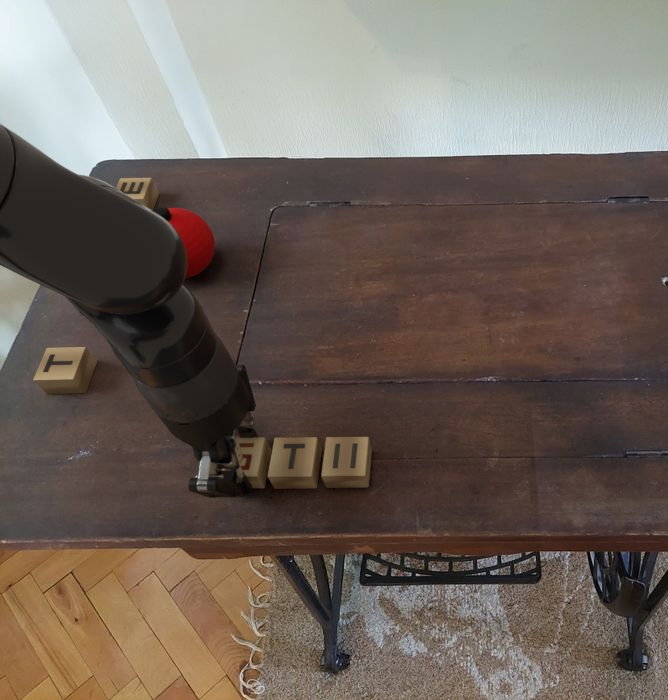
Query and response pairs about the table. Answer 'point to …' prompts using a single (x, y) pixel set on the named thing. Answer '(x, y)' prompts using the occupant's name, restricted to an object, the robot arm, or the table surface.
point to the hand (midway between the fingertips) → (246, 468)
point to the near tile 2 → (295, 463)
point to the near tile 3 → (346, 462)
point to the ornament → (192, 237)
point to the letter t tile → (65, 370)
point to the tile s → (255, 460)
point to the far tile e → (140, 190)
